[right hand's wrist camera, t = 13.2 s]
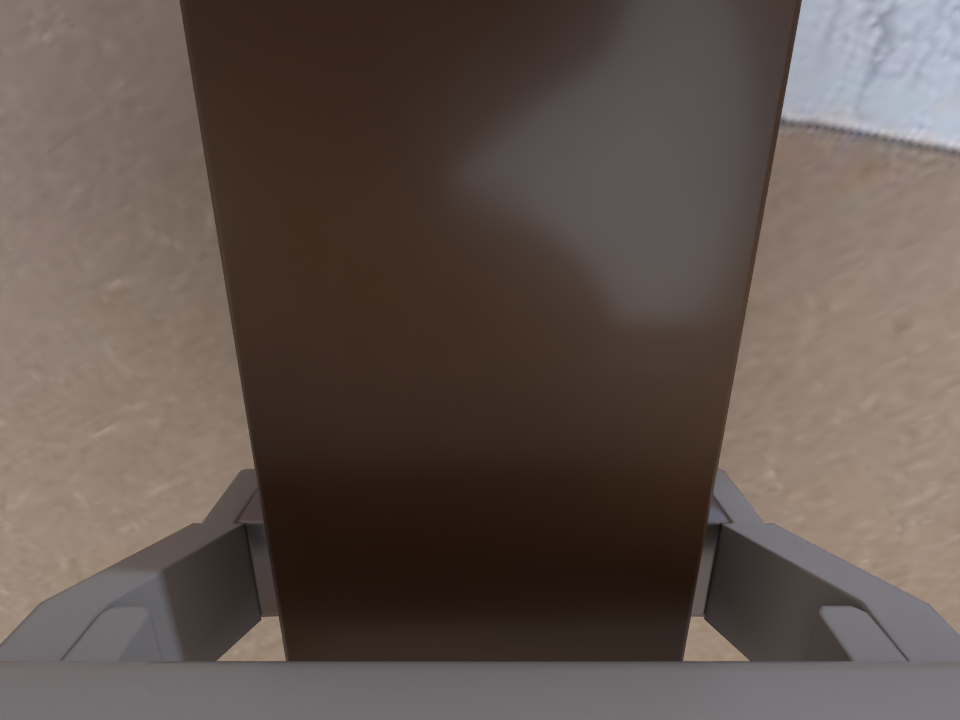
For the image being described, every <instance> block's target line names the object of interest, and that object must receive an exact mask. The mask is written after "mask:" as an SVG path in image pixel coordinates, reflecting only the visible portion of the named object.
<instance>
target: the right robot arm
mask: <svg viewBox="0 0 960 720" xmlns="http://www.w3.org/2000/svg"><path fill="white" fill-rule="evenodd" d="M267 616H279V614H278V608H277V602H276V595H275V589H274V583H273V577H272V571H271V564H270V558H269V552H268V546H267V540H266V533H265V527H264V521H263V515H262V509H261V502H260V496H259V490H258V484H257V477H256V471H255V469H245V470H241V471H240V472H239V473H238V475H237V476H236V478H235V479H234V480H233V482H232V483H231V484H230V486H229V487H228V488H227V490H226V491H225V492H224V494H223V495H222V497H221V498H220V499H219V501H218V502H217V503H216V505H215V506H214V507H213V509H212V510H211V511H210V513H209V514H208V516H207V517H206V518H205V520H204V521H203V522H202V523H193V524H191V525H189V526H187V527H185V528H183V529H181V530H179V531H177V532H175V533H173V534H171V535H170V536H168V537H166V538H164V539H162V540H160V541H158V542H156V543H154V544H152V545H150V546H149V547H147V548H145V549H143V550H141V551H139V552H137V553H135V554H133V555H131V556H129V557H127V558H126V559H124V560H122V561H120V562H118V563H116V564H114V565H112V566H110V567H108V568H106V569H104V570H103V571H101V572H99V573H97V574H95V575H93V576H91V577H89V578H87V579H85V580H83V581H81V582H80V583H78V584H76V585H74V586H72V587H70V588H68V589H66V590H64V591H62V592H60V593H59V594H57V595H55V596H53V597H51V598H49V599H47V600H45V601H43V602H41V603H40V604H39V605H38V606H37V607H36V608H35V609H34V610H33V611H32V612H31V613H30V614H29V615H28V616H27V617H26V618H25V619H24V620H23V621H22V622H21V623H20V624H19V625H18V627H17V628H16V629H15V630H14V631H13V632H12V633H11V634H10V635H9V636H8V637H7V638H6V639H5V640H4V641H3V642H2V643H1V644H0V720H960V635H959V634H958V633H957V632H956V631H955V630H954V629H953V628H952V627H951V626H950V625H949V624H948V623H947V622H946V621H945V620H944V619H943V618H942V617H941V616H940V615H939V614H938V613H937V612H936V611H935V610H934V608H933V607H932V606H931V605H930V604H928V603H926V602H924V601H922V600H920V599H918V598H916V597H915V596H913V595H911V594H909V593H907V592H905V591H903V590H901V589H899V588H897V587H895V586H893V585H891V584H889V583H888V582H886V581H884V580H882V579H880V578H878V577H876V576H874V575H872V574H870V573H868V572H866V571H864V570H862V569H861V568H859V567H857V566H855V565H853V564H851V563H849V562H847V561H845V560H843V559H841V558H839V557H837V556H835V555H834V554H832V553H830V552H828V551H826V550H824V549H822V548H820V547H818V546H816V545H814V544H812V543H810V542H808V541H807V540H805V539H803V538H801V537H799V536H797V535H795V534H793V533H791V532H789V531H787V530H785V529H783V528H782V527H780V526H778V525H776V524H774V523H764V522H763V521H762V519H761V518H760V517H759V515H758V514H757V513H756V511H755V510H754V509H753V507H752V506H751V505H750V504H749V502H748V501H747V500H746V498H745V497H744V496H743V494H742V493H741V492H740V490H739V489H738V488H737V486H736V485H735V484H734V482H733V481H732V480H731V478H730V477H729V476H728V475H727V473H726V472H725V471H724V470H722V469H720V468H717V474H716V479H715V485H714V490H713V496H712V501H711V507H710V512H709V518H708V524H707V529H706V535H705V540H704V546H703V551H702V557H701V562H700V568H699V574H698V579H697V585H696V590H695V596H694V601H693V607H692V612H691V616H698V617H705V618H704V619H705V620H706V621H707V622H708V623H709V624H710V625H711V626H712V627H714V628H715V629H716V630H717V631H718V632H719V633H720V634H721V635H722V636H723V637H725V638H726V639H727V640H728V641H729V642H730V643H731V644H732V645H733V646H734V647H736V648H737V649H738V650H739V651H740V652H741V653H742V654H743V655H744V656H745V657H747V658H748V659H749V660H750V661H217V660H218V659H219V658H220V657H221V656H222V655H223V654H224V653H225V652H226V651H228V650H229V649H230V648H231V647H232V646H233V645H234V644H235V643H236V642H237V641H238V640H240V639H241V638H242V637H243V636H244V635H245V634H246V633H247V632H248V631H249V630H250V629H252V628H253V627H254V626H255V625H256V624H257V623H258V622H259V621H260V620H261V617H267Z"/></svg>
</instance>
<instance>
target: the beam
mask: <svg viewBox="0 0 960 720" xmlns="http://www.w3.org/2000/svg"><path fill="white" fill-rule="evenodd" d="M801 2H802V0H180V5H181V12H182V18H183V24H184V30H185V36H186V43H187V49H188V55H189V61H190V67H191V74H192V80H193V86H194V92H195V99H196V105H197V111H198V117H199V123H200V130H201V136H202V142H203V148H204V154H205V161H206V167H207V173H208V179H209V186H210V192H211V198H212V204H213V210H214V217H215V223H216V229H217V235H218V241H219V248H220V254H221V260H222V266H223V272H224V279H225V285H226V291H227V297H228V304H229V310H230V316H231V322H232V328H233V335H234V341H235V347H236V353H237V359H238V366H239V372H240V378H241V384H242V390H243V397H244V403H245V409H246V415H247V422H248V428H249V434H250V440H251V446H252V453H253V459H254V465H255V471H256V477H257V484H258V490H259V496H260V502H261V509H262V515H263V521H264V527H265V533H266V540H267V546H268V552H269V558H270V564H271V571H272V577H273V583H274V589H275V595H276V602H277V608H278V614H279V620H280V627H281V633H282V639H283V645H284V651H285V658H286V661H683V657H684V651H685V646H686V640H687V635H688V629H689V623H690V618H691V612H692V607H693V601H694V596H695V590H696V585H697V579H698V574H699V568H700V562H701V557H702V551H703V546H704V540H705V535H706V529H707V524H708V518H709V512H710V507H711V501H712V496H713V490H714V485H715V479H716V474H717V468H718V463H719V457H720V451H721V446H722V440H723V435H724V429H725V424H726V418H727V413H728V407H729V402H730V396H731V390H732V385H733V379H734V374H735V368H736V363H737V357H738V352H739V346H740V340H741V335H742V329H743V324H744V318H745V313H746V307H747V302H748V296H749V291H750V285H751V279H752V274H753V268H754V263H755V257H756V252H757V246H758V241H759V235H760V230H761V224H762V218H763V213H764V207H765V202H766V196H767V191H768V185H769V180H770V174H771V169H772V163H773V157H774V152H775V146H776V141H777V135H778V130H779V124H780V119H781V113H782V107H783V102H784V96H785V91H786V85H787V80H788V74H789V69H790V63H791V58H792V52H793V46H794V41H795V35H796V30H797V24H798V19H799V13H800V8H801Z"/></svg>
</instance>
